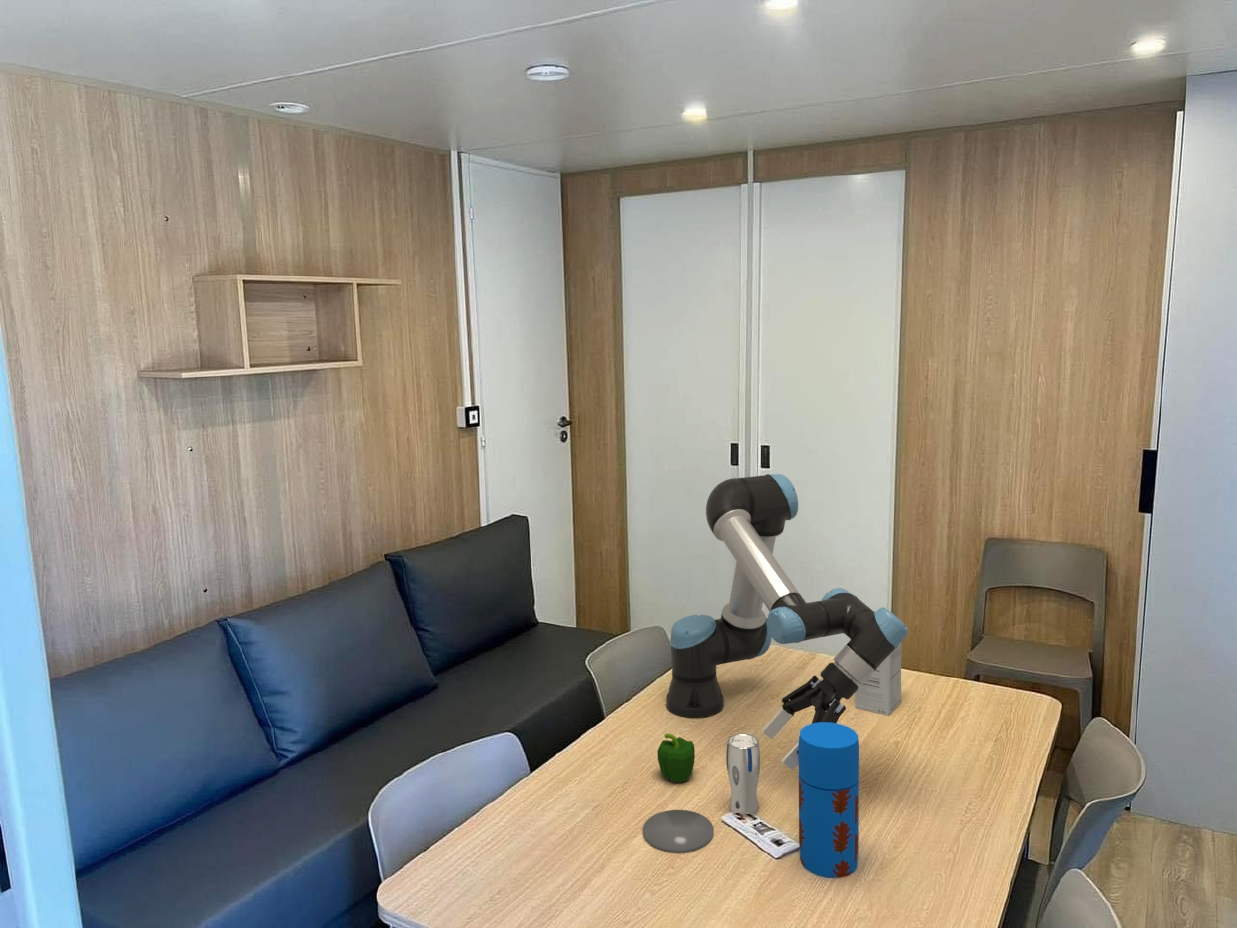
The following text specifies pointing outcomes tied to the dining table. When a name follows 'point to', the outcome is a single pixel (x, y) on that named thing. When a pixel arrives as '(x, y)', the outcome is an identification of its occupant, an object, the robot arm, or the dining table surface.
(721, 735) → the dining table surface
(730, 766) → the metal tumbler
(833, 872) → the thermos
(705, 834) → the coaster
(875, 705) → the supplement box
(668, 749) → the bell pepper
